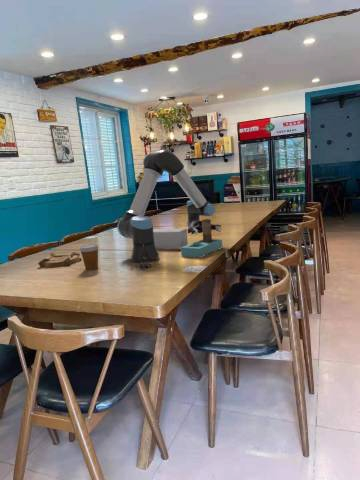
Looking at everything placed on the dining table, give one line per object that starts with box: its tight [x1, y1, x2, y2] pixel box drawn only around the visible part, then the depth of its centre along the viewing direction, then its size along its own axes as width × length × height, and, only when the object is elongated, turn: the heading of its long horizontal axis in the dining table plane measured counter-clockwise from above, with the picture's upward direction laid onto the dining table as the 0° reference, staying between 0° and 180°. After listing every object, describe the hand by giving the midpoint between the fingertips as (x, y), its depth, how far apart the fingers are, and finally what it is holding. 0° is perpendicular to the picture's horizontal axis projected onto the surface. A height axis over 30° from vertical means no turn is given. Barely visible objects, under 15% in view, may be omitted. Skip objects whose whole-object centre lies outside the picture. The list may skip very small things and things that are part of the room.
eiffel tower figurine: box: [129, 244, 161, 271], centre depth 174 cm, size 15×10×13 cm
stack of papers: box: [153, 228, 189, 250], centre depth 222 cm, size 32×11×11 cm, turn 65°
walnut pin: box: [201, 218, 213, 243], centre depth 200 cm, size 5×5×16 cm
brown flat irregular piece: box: [37, 251, 82, 269], centre depth 201 cm, size 24×24×5 cm
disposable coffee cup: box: [79, 243, 99, 271], centre depth 180 cm, size 10×10×12 cm
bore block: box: [180, 238, 223, 258], centre depth 196 cm, size 24×12×5 cm, turn 143°
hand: (208, 230), depth 196 cm, fingers open, 13 cm apart
